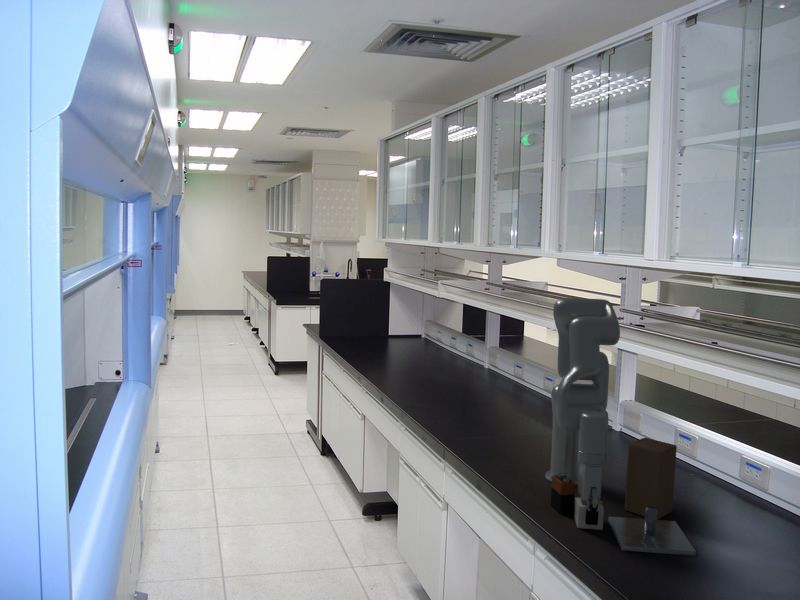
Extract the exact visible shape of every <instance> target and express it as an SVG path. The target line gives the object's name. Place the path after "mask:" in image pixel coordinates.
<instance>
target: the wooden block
mask: <svg viewBox="0 0 800 600" xmlns="http://www.w3.org/2000/svg"><path fill="white" fill-rule="evenodd" d="M677 448H678V446H677V445H676V444H673V443H669V442H665V441H661V440H657V439H652V438H648V437H643V438H640V439H638V440H635V441H633V442H630V443H628V449H627V465H626V480H625V496H624V498H625V499H624V510H625V511H627V512H629V513H632V514H633V513H634V514H635V515H638V516H642V517H643V518H645V508H646V506H653V507H656V508H657V509H658V510H657V520H661V519H662V518H663V517H665V516H667V515H669V514H670V513H672V512H673V503H674V493H675V492H674V489H675V475H676V474H675V473H676V462H677Z"/></svg>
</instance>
